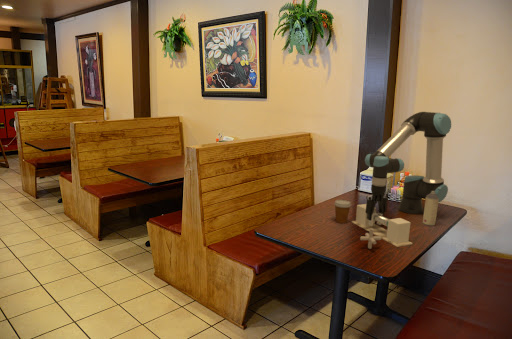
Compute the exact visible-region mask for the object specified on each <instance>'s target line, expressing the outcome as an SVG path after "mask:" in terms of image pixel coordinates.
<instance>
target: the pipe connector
mask: <svg viewBox="0 0 512 339" xmlns="http://www.w3.org/2000/svg"><path fill="white" fill-rule="evenodd" d="M373 230H374V229H373V228H370V231H368V232H365V234H364V235H365V236H360V237H359V239H360V241H368V242H367V249H370V250H371V249H373V245H377V241H381V240H382V238H381V236H376V235H374V234H373Z"/></svg>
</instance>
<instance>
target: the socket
mask: <svg viewBox="0 0 512 339" xmlns="http://www.w3.org/2000/svg"><path fill="white" fill-rule="evenodd" d="M389 219H390V218H389ZM411 224H412V222H410V221H408V220H406V219H404V218H401V217H397V218H392V219H390V220H388V227H387V228H386V230H387V238H386V239H388V240H389V241H391V242H393V243H395V244H399V243H405V242H408V241H409V237H410V230H411Z"/></svg>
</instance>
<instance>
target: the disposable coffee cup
mask: <svg viewBox="0 0 512 339" xmlns="http://www.w3.org/2000/svg"><path fill="white" fill-rule="evenodd" d="M351 206H352V204H351V201H348V200H345V199H336V200H335V201H334V208H335V210H334V211H335V222H336V223H339V224H346V223H348V222H347V221H348V218H349V212H350V209H351Z"/></svg>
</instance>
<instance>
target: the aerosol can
mask: <svg viewBox="0 0 512 339" xmlns="http://www.w3.org/2000/svg"><path fill="white" fill-rule="evenodd" d="M424 200H425V202H424V207H423V216H422V225H424V226H427V227H435V226H436V222H437V215H438V207H439V202H438V201H439V197H438V196H437V195H436V194H435V191H432V192H431V193H430V194H428V195H426V199H424Z"/></svg>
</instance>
